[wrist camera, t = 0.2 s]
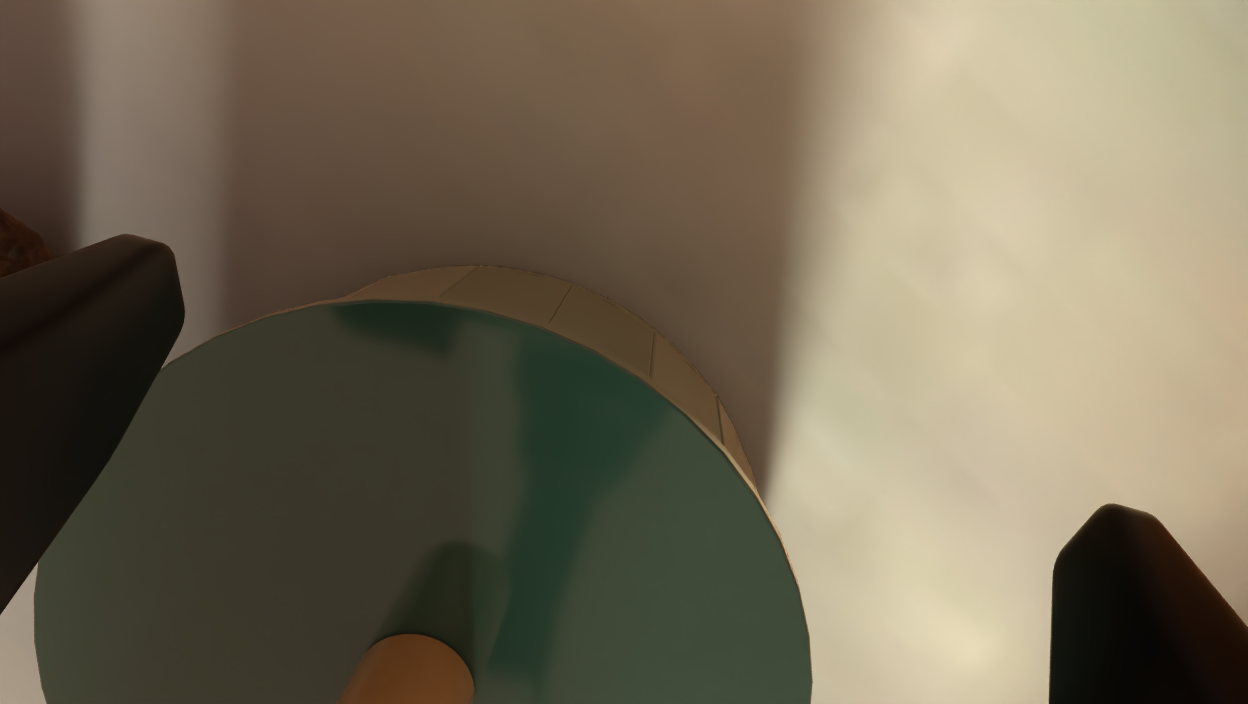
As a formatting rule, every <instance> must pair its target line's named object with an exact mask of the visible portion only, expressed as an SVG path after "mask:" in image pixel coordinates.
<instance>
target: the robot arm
mask: <svg viewBox="0 0 1248 704" xmlns="http://www.w3.org/2000/svg"><path fill="white" fill-rule="evenodd" d="M184 317H185V307H184V302H183V296H182V291H181V286H180V281H179V276H178V271H177V266H176V260H175V256H174V253H173V252H172V250H171V249H170V248H169V246H167V245H165V244H164V243H161V242H158V241H154V240H150V239H147V238H143V237H139V236H136V235H130V234H123V235H119V236H115V237H112V238H109V239H107V240H104V241H101V242H98V243H96V244H93V245H90V246H87V247H85V248H82V249H79V250H76V251H74V252H71V253H68V254H65V255H63V256H60V257H57V258H54V259H52V260H49V261H46V262H43V263H41V264H38V265H35V266H32V267H30V268H27V269H24V270H21V271H19V272H16V273H13V274H10V275H8V276H5V277H2V278H0V614H1V613H2V612H3V610H4V609H5V607H6V606H7V605H8V603H9V602H10V600H11V599H12V598H13V596H14V595H15V593H16V592H17V591H18V589H19V588H20V586H21V585H22V584H23V582H24V581H25V579H26V578H27V577H28V575H29V574H30V572H31V571H32V569H33V568H34V567H35V565H36V564H37V562H38V561H39V560H40V558H41V557H42V555H43V554H44V553H45V551H46V550H47V548H48V547H49V546H50V544H51V543H52V541H53V540H54V539H55V537H56V536H57V534H58V533H59V532H60V530H61V529H62V527H63V526H64V524H65V523H66V522H67V520H68V519H69V517H70V516H71V515H72V513H73V512H74V510H75V509H76V508H77V506H78V505H79V503H80V502H81V501H82V499H83V498H84V496H85V495H86V494H87V492H88V491H89V489H90V488H91V487H92V485H93V484H94V482H95V481H96V479H97V478H98V476H99V475H100V473H101V472H102V470H103V469H104V467H105V466H106V465H107V463H108V462H109V460H110V458H111V457H112V455H113V453H114V452H115V450H116V448H117V446H118V445H119V443H120V441H121V440H122V438H123V436H124V434H125V432H126V431H127V429H128V427H129V425H130V423H131V421H132V420H133V418H134V416H135V414H136V412H137V411H138V409H139V407H140V405H141V403H142V401H143V400H144V398H145V396H146V394H147V392H148V391H149V389H150V387H151V385H152V383H153V381H154V380H155V378H156V376H157V374H158V372H159V371H160V369H161V367H162V365H163V363H164V361H165V360H166V358H167V356H168V354H169V352H170V351H171V349H172V347H173V345H174V343H175V341H176V340H177V338H178V336H179V334H180V332H181V329H182V326H183V323H184ZM1049 704H1248V627H1247V625H1246V624H1245V623H1244V622H1243V621H1242V619H1241V618H1240V617H1239V616H1238V615H1237V613H1236V612H1235V611H1234V610H1233V609H1232V607H1231V606H1230V605H1229V604H1228V603H1227V601H1226V600H1225V599H1224V598H1223V597H1222V595H1221V594H1220V593H1219V592H1218V591H1217V589H1216V588H1215V587H1214V586H1213V585H1212V583H1211V582H1210V581H1209V580H1208V579H1207V577H1206V576H1205V575H1204V574H1203V573H1202V571H1201V570H1200V569H1199V568H1198V567H1197V565H1196V564H1195V563H1194V562H1193V561H1192V559H1191V558H1190V557H1189V556H1188V555H1187V553H1186V552H1185V551H1184V550H1183V549H1182V547H1181V546H1180V545H1179V544H1178V543H1177V541H1176V540H1175V539H1174V538H1173V537H1172V535H1171V534H1170V533H1169V532H1168V530H1167V529H1166V528H1165V527H1164V526H1163V524H1162V523H1161V522H1160V521H1159V520H1158V519H1157V518H1156V517H1154V516H1153V515H1151V514H1149V513H1147V512H1143V511H1140V510H1136V509H1132V508H1129V507H1125V506H1122V505H1118V504H1106V505H1104V506H1101V507H1100V508H1099V509H1098V510H1096V511H1095V513H1094V514H1093V515H1092V516H1091V517H1090V518H1089V519H1088V520H1087V521H1086V523H1085V524H1084V525H1083V526H1082V527H1081V528H1080V529H1079V530H1078V532H1077V533H1076V534H1075V535H1074V536H1073V537H1072V538H1071V539H1070V541H1069V542H1068V543H1067V544H1066V545H1065V546H1064V547H1063V549H1062V550H1061V551H1060V553H1059V555H1058V557H1057V559H1056V562H1055V565H1054V570H1053V582H1052V614H1051V647H1050V679H1049Z"/></svg>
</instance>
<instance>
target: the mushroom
mask: <svg viewBox="0 0 1248 704" xmlns="http://www.w3.org/2000/svg"><path fill="white" fill-rule="evenodd" d="M52 259H54V256H53V255H52V253H51V252H50V250H49V249H48V247H47V246H46V244H45V243H44V241H43V240H42V238H41V237H40V236H39V234H37V233H36V232H34V231H33V230H31V229H30V228H28V227H27V226H26V225H24V224H23V223H21V222H20V221H18V220H17V219H15V218H14V217H12V216H11V215H9V214H8V213H6V212H5V211H3V210H2V209H0V278H2V277H5V276H8V275H10V274H13V273H16V272H19V271H21V270H24V269H27V268H30V267H32V266H35V265H38V264H41V263H43V262H46V261H49V260H52Z"/></svg>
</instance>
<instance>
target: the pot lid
mask: <svg viewBox="0 0 1248 704" xmlns="http://www.w3.org/2000/svg"><path fill="white" fill-rule="evenodd" d="M34 643H35V649H36V655H37V662H38V668H39V674H40V681H41V687H42V690H43V693H44V697H45V700H46V703H47V704H811V695H812V683H813V681H812V666H811V651H810V636H809V631H808V626H807V622H806V617H805V612H804V608H803V603H802V599H801V594H800V590H799V585H798V581H797V578H796V575H795V572H794V570H793V567H792V564H791V562H790V559H789V556H788V554H787V551H786V548H785V546H784V543H783V540H782V538H781V535H780V533H779V531H778V529H777V527H776V525H775V523H774V521H773V520H772V518H771V516H770V514H769V512H768V510H767V509H766V507H765V505H764V503H763V501H762V499H761V498H760V496H759V494H758V492H757V490H756V489H755V487H754V486H753V484H752V483H751V482H750V480H749V479H748V477H747V476H746V475H745V473H744V472H743V471H742V469H741V468H740V467H739V465H738V464H737V463H736V461H735V460H734V459H733V457H732V456H731V455H730V453H729V452H728V450H727V449H726V448H725V446H724V445H723V444H722V443H721V442H720V441H719V440H718V439H717V438H716V437H715V436H714V435H713V434H712V433H711V432H710V431H709V430H708V429H707V428H706V427H705V426H704V425H703V424H702V423H701V422H700V421H699V419H698V418H697V417H696V416H695V415H694V414H693V413H692V412H691V411H690V410H689V409H688V408H687V407H686V406H684V405H683V404H682V403H681V402H679V401H678V400H677V399H676V398H674V397H673V396H672V395H671V394H669V393H668V392H667V391H665V390H664V389H663V388H662V387H660V386H659V385H658V384H657V383H655V382H654V381H653V380H652V379H650V378H649V377H648V376H647V375H645V374H644V373H643V372H641V371H639V370H638V369H636V368H634V367H633V366H631V365H629V364H628V363H626V362H624V361H623V360H621V359H619V358H618V357H616V356H614V355H613V354H611V353H609V352H608V351H606V350H604V349H603V348H601V347H599V346H598V345H596V344H594V343H592V342H589V341H587V340H585V339H582V338H580V337H578V336H576V335H573V334H571V333H569V332H567V331H564V330H562V329H560V328H557V327H555V326H553V325H551V324H548V323H546V322H544V321H540V320H537V319H534V318H530V317H527V316H524V315H520V314H517V313H513V312H510V311H507V310H503V309H500V308H497V307H493V306H490V305H484V304H477V303H471V302H465V301H459V300H453V299H447V298H441V297H434V296H403V295H371V296H361V297H351V298H341V299H331V300H323V301H319V302H315V303H311V304H307V305H302V306H298V307H294V308H290V309H286V310H282V311H277V312H273V313H271V314H268V315H266V316H263V317H261V318H258V319H255V320H253V321H250V322H248V323H245V324H243V325H240V326H238V327H235V328H232V329H230V330H227V331H225V332H223V333H221V334H219V335H217V336H215V337H213V338H211V339H209V340H208V341H206V342H204V343H202V344H201V345H199V346H197V347H195V348H194V349H192V350H190V351H188V352H187V353H185V354H183V355H181V356H180V357H178V358H176V359H174V360H173V361H171V362H170V363H168V364H167V365H166V366H165V367H163V368H162V369H161V370H160V371H159V372H158V374H157V376H156V378H155V380H154V381H153V383H152V385H151V387H150V389H149V391H148V392H147V394H146V396H145V398H144V400H143V401H142V403H141V405H140V407H139V409H138V411H137V412H136V414H135V416H134V418H133V420H132V421H131V423H130V425H129V427H128V429H127V431H126V432H125V434H124V436H123V438H122V440H121V441H120V443H119V445H118V446H117V448H116V450H115V452H114V453H113V455H112V457H111V458H110V460H109V462H108V463H107V465H106V466H105V467H104V469H103V470H102V472H101V473H100V475H99V476H98V478H97V479H96V481H95V482H94V484H93V485H92V487H91V488H90V489H89V491H88V492H87V494H86V495H85V496H84V498H83V499H82V501H81V502H80V503H79V505H78V506H77V508H76V509H75V510H74V512H73V513H72V515H71V516H70V517H69V519H68V520H67V522H66V523H65V524H64V526H63V527H62V529H61V530H60V532H59V533H58V534H57V536H56V537H55V539H54V540H53V541H52V543H51V544H50V546H49V547H48V548H47V550H46V551H45V553H44V554H43V555H42V557H41V558H40V560H39V562H38V569H37V577H36V584H35V592H34Z"/></svg>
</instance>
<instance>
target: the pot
mask: <svg viewBox="0 0 1248 704" xmlns="http://www.w3.org/2000/svg"><path fill="white" fill-rule="evenodd" d="M371 295H403V296H434V297H441V298H447V299H453V300H459V301H465V302H471V303H477V304H484V305H490V306H493V307H497V308H500V309H503V310H507V311H510V312H513V313H517V314H520V315H524V316H527V317H530V318H534V319H537V320H540V321H544V322H546V323H548V324H551V325H553V326H555V327H557V328H560V329H562V330H564V331H567V332H569V333H571V334H573V335H576V336H578V337H580V338H582V339H585V340H587V341H589V342H592V343H594V344H596V345H598V346H599V347H601V348H603V349H604V350H606V351H608V352H609V353H611V354H613V355H614V356H616V357H618V358H619V359H621V360H623V361H624V362H626V363H628V364H629V365H631V366H633V367H634V368H636V369H638V370H639V371H641V372H643V373H644V374H645V375H647V376H648V377H649V378H650V379H652V380H653V381H654V382H655V383H657V384H658V385H659V386H660V387H662V388H663V389H664V390H665V391H667V392H668V393H669V394H671V395H672V396H673V397H674V398H676V399H677V400H678V401H679V402H681V403H682V404H683V405H684V406H686V407H687V408H688V409H689V410H690V411H691V412H692V413H693V414H694V415H695V416H696V417H697V418H698V419H699V421H700V422H701V423H702V424H703V425H704V426H705V427H706V428H707V429H708V430H709V431H710V432H711V433H712V434H713V435H714V436H715V437H716V438H717V439H718V440H719V441H720V442H721V443H722V444H723V445H724V446H725V448H726V449H727V450H728V452H729V453H730V455H731V456H732V457H733V459H734V460H735V461H736V463H737V464H738V465H739V467H740V468H741V469H742V471H743V472H744V473H745V475H746V476H747V477H748V479H749V480H750V482H751V483H752V484H753V486H754V487H755V489H756V484H755V480H754V475H753V471H752V469H751V467H750V465H749V463H748V460H747V458H746V456H745V454H744V452H743V449H742V447H741V445H740V442H739V439H738V437H737V434H736V431H735V429H734V427H733V425H732V423H731V422H730V420H729V418H728V416H727V414H726V412H725V410H724V408H723V406H722V404H721V402H720V399H719V397H718V396H716V394H715V392H714V391H713V390H712V389H711V388H710V387H709V386H708V384H707V383H706V382H705V380H704V379H703V378H702V376H701V375H700V373H699V372H698V371H697V369H696V368H695V367H694V366H693V365H692V364H691V363H690V362H689V361H688V360H687V359H686V358H685V357H684V356H683V355H682V354H681V353H680V352H679V351H678V350H677V348H676V347H675V346H674V345H673V344H672V343H671V342H670V341H668V340H667V339H666V338H665V337H663V336H662V335H661V334H660V333H658V332H657V331H656V330H655V329H654V328H653V327H651V326H650V325H648V324H647V323H646V322H645V321H643V320H642V319H641V318H639V317H637V316H636V315H634V314H632V313H631V312H629V311H627V310H626V309H624V308H623V307H621V306H619V305H618V304H616V303H614V302H613V301H611V300H609V299H607V298H605V297H603V296H600V295H598V294H596V293H594V292H591V291H589V290H587V289H585V288H582V287H580V286H578V285H576V284H573V283H570V282H566V281H563V280H560V279H556V278H553V277H550V276H546V275H543V274H540V273H535V272H529V271H523V270H517V269H511V268H505V267H493V266H486V265H482V266H480V265H474V266H452V267H442V268H433V269H424V270H420V271H415V272H411V273H404V274H395V275H391V276H389V277H385V278H383V279H381V280H379V281H376V282H374V283H372V284H370V285H368V286H366V287H364V288H362V289H359V290H357V291H354V292H353V293H351V294H349V295H347V296H345V297H343V298H351V297H361V296H371ZM340 299H341V298H340ZM756 490H757V489H756Z"/></svg>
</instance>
